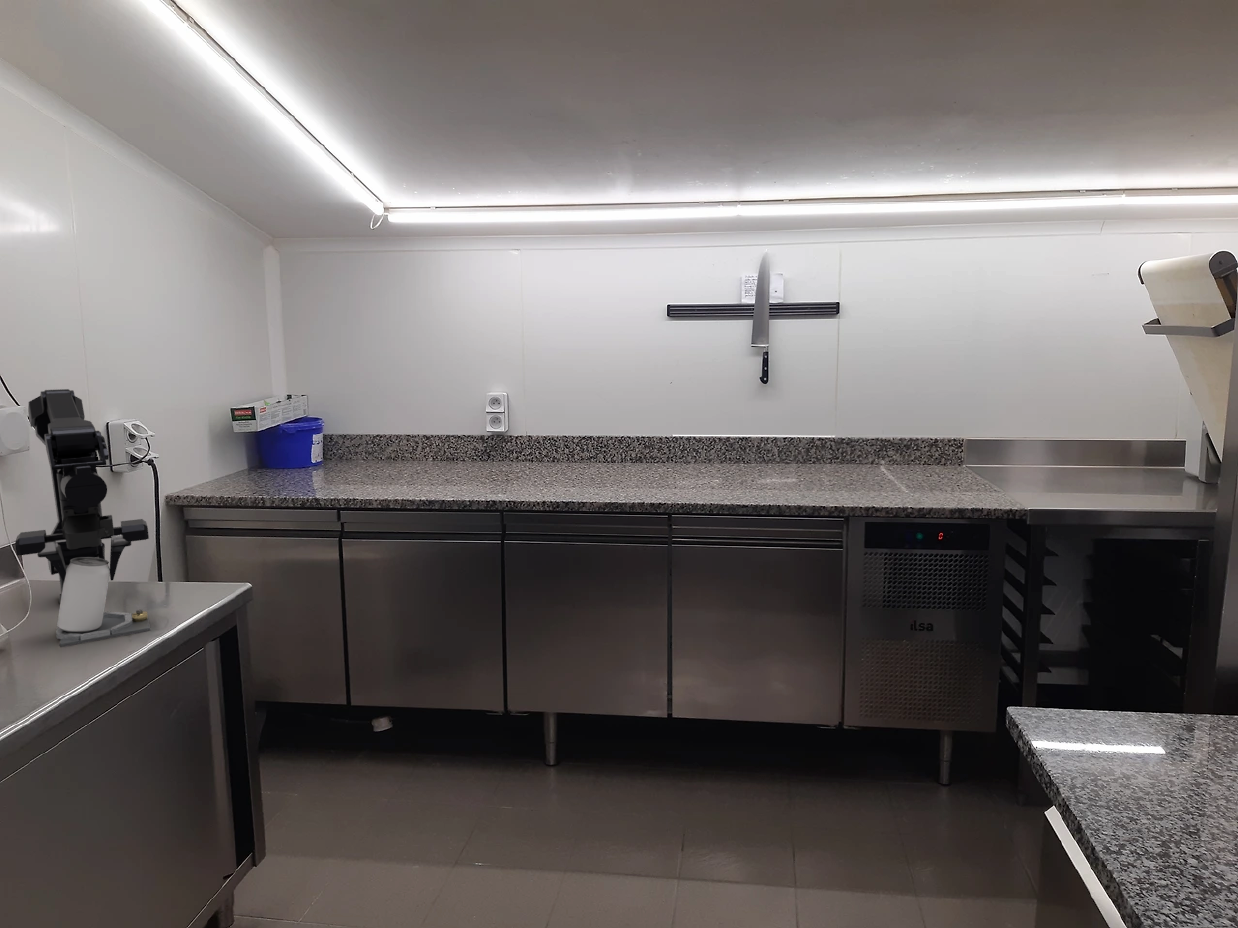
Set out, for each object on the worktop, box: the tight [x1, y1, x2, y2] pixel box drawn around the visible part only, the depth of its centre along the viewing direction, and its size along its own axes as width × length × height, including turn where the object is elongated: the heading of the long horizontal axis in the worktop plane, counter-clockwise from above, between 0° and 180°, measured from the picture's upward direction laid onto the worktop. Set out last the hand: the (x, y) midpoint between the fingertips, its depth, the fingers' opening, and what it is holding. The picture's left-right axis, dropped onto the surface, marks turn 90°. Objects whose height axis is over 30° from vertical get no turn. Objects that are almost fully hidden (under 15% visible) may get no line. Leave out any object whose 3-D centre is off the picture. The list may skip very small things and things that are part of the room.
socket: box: [55, 610, 132, 641], centre depth 133 cm, size 11×11×1 cm
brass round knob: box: [132, 608, 149, 622], centre depth 137 cm, size 2×2×2 cm
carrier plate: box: [59, 612, 151, 648], centre depth 134 cm, size 10×13×1 cm
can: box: [56, 557, 110, 632], centre depth 132 cm, size 6×6×12 cm
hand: (90, 583), depth 132 cm, fingers open, 6 cm apart
